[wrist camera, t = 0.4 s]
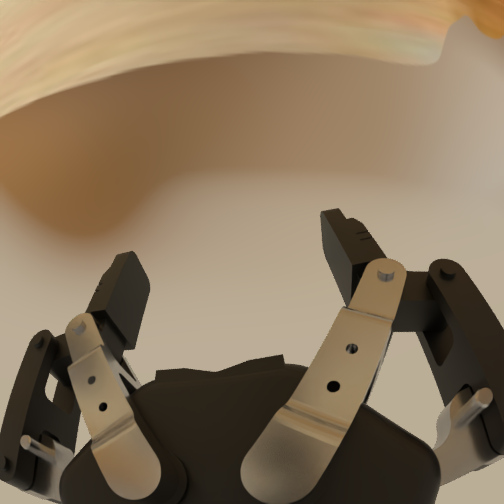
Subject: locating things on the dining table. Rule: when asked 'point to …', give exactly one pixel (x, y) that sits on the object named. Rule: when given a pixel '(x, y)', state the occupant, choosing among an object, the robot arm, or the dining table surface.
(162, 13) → the dining table surface
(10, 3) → the dining table surface
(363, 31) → the dining table surface
